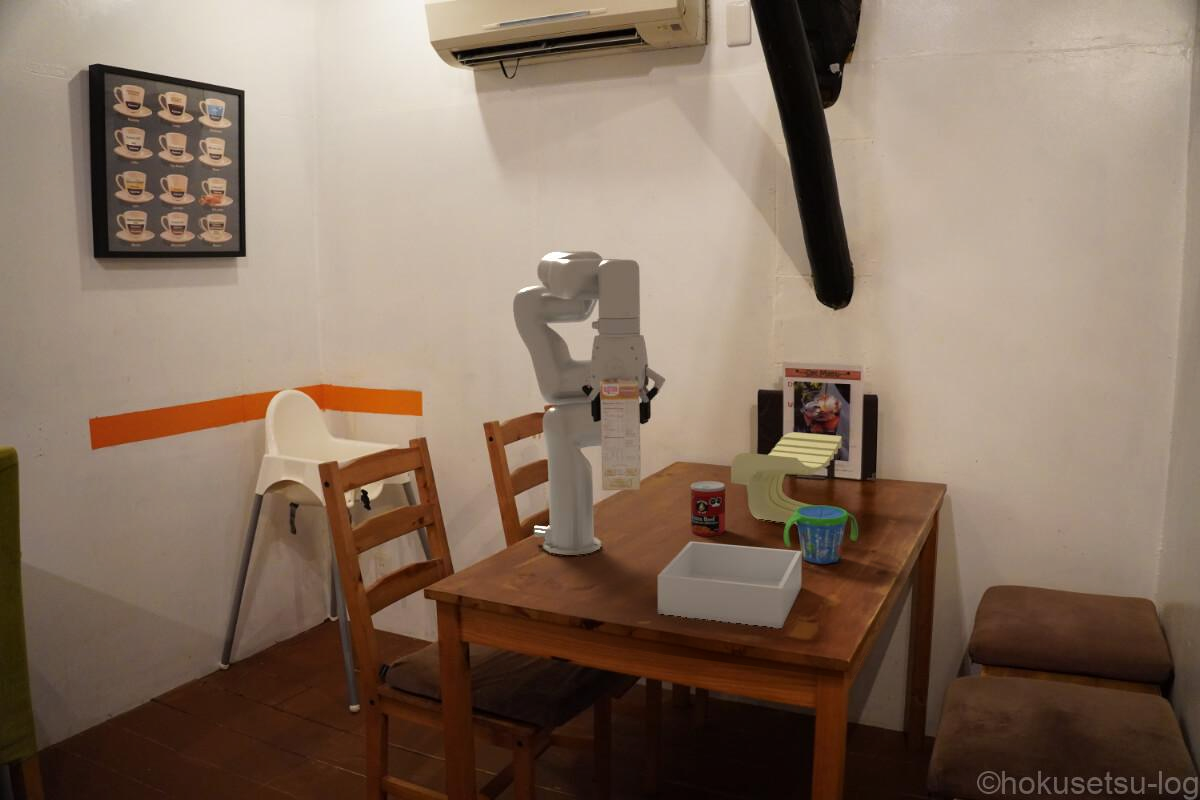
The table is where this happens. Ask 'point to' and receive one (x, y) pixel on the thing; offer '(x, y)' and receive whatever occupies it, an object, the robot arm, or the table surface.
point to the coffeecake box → (620, 434)
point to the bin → (731, 584)
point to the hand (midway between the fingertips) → (620, 421)
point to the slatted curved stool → (781, 472)
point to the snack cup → (821, 532)
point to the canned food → (707, 508)
